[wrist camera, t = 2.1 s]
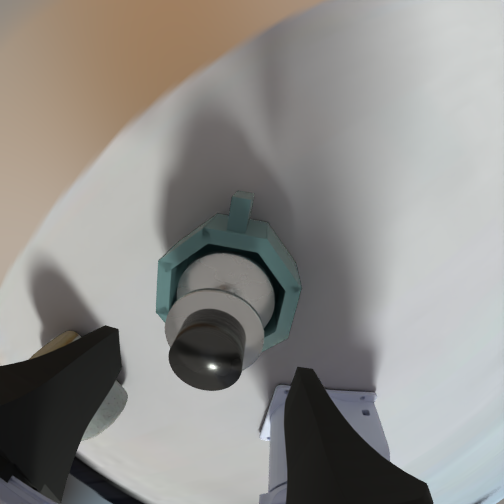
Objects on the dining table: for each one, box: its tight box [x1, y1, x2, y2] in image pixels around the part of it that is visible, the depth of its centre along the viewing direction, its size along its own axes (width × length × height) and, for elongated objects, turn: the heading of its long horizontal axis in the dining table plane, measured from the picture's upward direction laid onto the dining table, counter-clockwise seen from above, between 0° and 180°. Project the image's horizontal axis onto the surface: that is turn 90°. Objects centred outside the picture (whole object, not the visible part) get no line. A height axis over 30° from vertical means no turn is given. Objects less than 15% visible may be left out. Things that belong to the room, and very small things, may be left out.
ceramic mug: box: [30, 331, 128, 441], centre depth 21 cm, size 11×8×8 cm
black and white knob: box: [165, 250, 275, 391], centre depth 14 cm, size 6×6×6 cm
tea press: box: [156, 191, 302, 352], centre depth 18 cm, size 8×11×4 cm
